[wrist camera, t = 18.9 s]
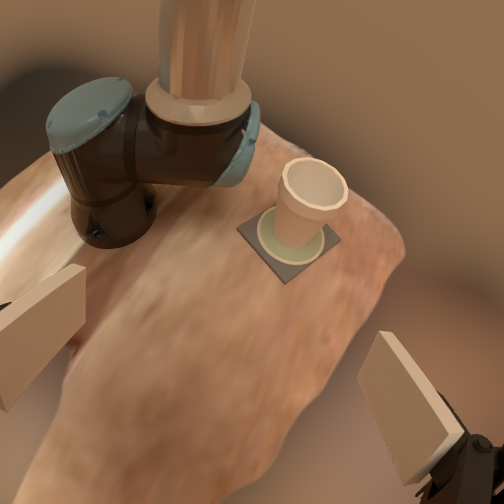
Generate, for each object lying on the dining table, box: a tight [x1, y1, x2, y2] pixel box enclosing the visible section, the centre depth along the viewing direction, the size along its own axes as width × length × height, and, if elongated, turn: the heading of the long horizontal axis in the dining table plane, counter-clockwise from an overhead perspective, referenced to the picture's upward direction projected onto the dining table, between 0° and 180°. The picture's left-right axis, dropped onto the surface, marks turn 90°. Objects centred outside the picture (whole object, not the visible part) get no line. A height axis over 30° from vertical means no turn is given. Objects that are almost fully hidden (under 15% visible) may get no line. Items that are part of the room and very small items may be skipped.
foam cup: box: [272, 157, 348, 250], centre depth 45 cm, size 10×9×13 cm
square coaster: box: [237, 205, 341, 284], centre depth 51 cm, size 12×14×1 cm
